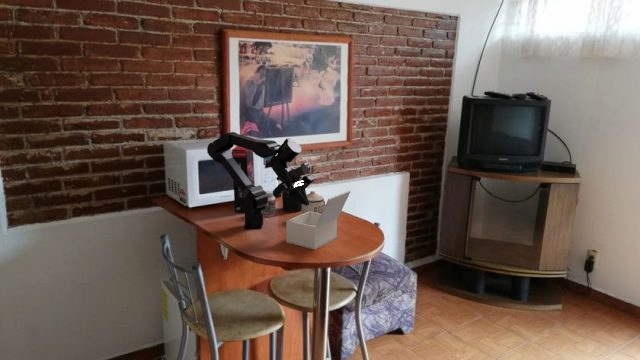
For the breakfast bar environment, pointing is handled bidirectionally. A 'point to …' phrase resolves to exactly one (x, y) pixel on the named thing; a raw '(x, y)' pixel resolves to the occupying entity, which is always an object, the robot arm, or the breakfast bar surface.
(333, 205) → the carton flap
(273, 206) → the pill bottle
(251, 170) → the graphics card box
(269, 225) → the breakfast bar surface
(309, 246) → the carton
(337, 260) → the breakfast bar surface
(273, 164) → the robot arm
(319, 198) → the teacup with lid
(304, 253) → the breakfast bar surface
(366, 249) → the breakfast bar surface
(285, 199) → the pen holder
